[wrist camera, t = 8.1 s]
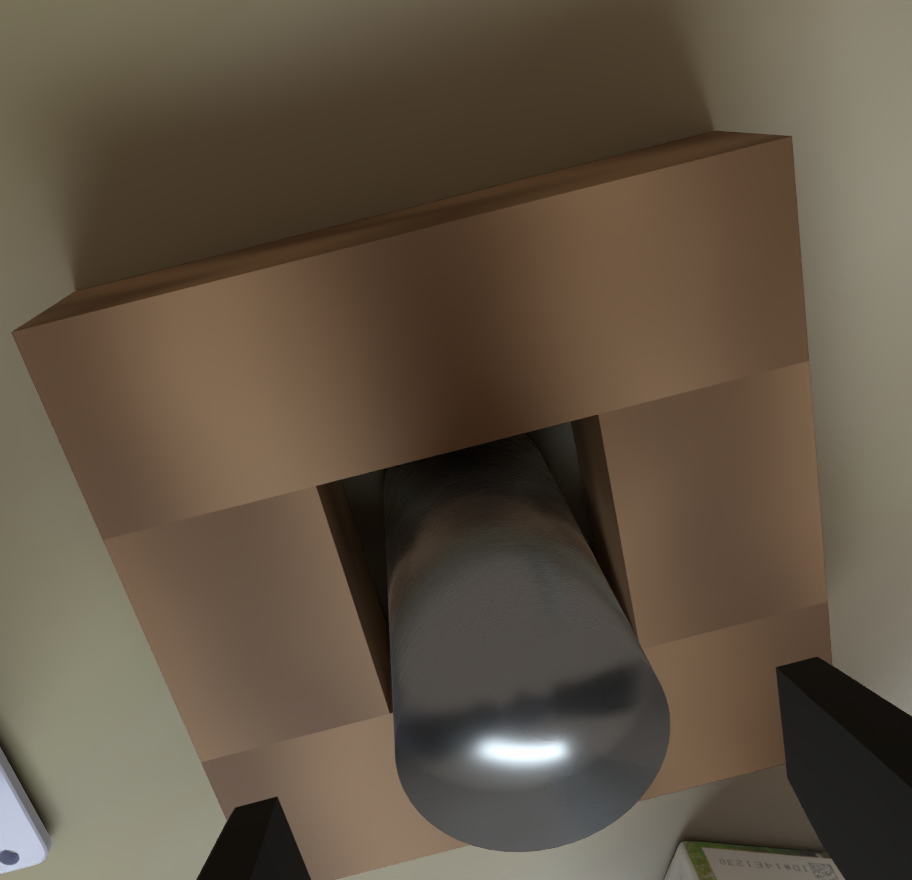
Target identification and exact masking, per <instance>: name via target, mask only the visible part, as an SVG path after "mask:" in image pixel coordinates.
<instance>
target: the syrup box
mask: <svg viewBox="0 0 912 880" xmlns="http://www.w3.org/2000/svg"><path fill="white" fill-rule="evenodd" d="M664 880H845V879H844V877H843V876H842V874H841V873H840V871H839V870H838V868H837V867H836V865H835V864H834V862H833V861H832V859H831V857H830V856H829V854H828V853H827V852H818V851H803V850H789V849H780V848H767V847H758V846H742V845H731V844H722V843H709V842H697V841H682V842H681V843H680V844H679V846H678V848H677V850H676V853H675V855H674V858H673V860H672V862H671V864H670V867H669V869H668V871H667V874H666V876H665V879H664Z"/></svg>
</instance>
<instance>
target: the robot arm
mask: <svg viewBox="0 0 912 880" xmlns="http://www.w3.org/2000/svg"><path fill="white" fill-rule="evenodd" d="M776 676H777V685H778V694H779V704H780V713H781V722H782V732H783V741H784V750H785V759H786V769H787V778H788V780H789V782H790V784H791V786H792V788H793V790H794V792H795V793H796V795H797V797H798V799H799V801H800V803H801V805H802V807H803V809H804V811H805V813H806V815H807V817H808V819H809V821H810V823H811V824H812V826H813V828H814V830H815V832H816V834H817V836H818V838H819V839H820V841H821V843H822V845H823V847H824V848H825V850H826V851H827V853H828V854H829V856H830V857H831V859H832V861H833V862H834V864H835V865H836V867H837V868H838V870H839V871H840V873H841V874H842V876H843V877H844V879H845V880H912V716H910V715H909V714H907V713H905V712H904V711H902V710H901V709H899V708H898V707H896V706H894V705H893V704H891V703H890V702H888V701H887V700H885V699H883V698H882V697H880V696H879V695H877V694H876V693H874V692H872V691H871V690H869V689H868V688H866V687H865V686H863V685H862V684H860V683H859V682H857V681H855V680H854V679H852V678H851V677H849V676H848V675H846V674H845V673H843V672H841V671H840V670H838V669H837V668H835V667H834V666H832V665H830V664H829V663H827V662H826V661H824V660H822V659H821V658H819V657H818V656H817V657H813V658H809V659H806V660H802V661H798V662H794V663H790V664H786V665H782V666H779V667H776ZM51 844H52V842H51V838H50V836H49V834H48V833H47V831H46V829H45V827H44V825H43V823H42V822H41V820H40V818H39V816H38V814H37V813H36V811H35V809H34V807H33V805H32V804H31V802H30V800H29V798H28V796H27V794H26V793H25V791H24V789H23V787H22V785H21V784H20V782H19V780H18V778H17V776H16V774H15V773H14V771H13V769H12V767H11V765H10V764H9V762H8V760H7V758H6V756H5V755H4V753H3V751H2V749H1V747H0V874H2V873H6V872H10V871H14V870H17V869H21V868H25V867H29V866H33V865H36V864H39V863H41V862H43V861H44V859H45V858H46V857H47V855H48V853H49V850H50V847H51ZM7 850H12V851H15V852H16V853H12V852H9V851H7ZM196 880H311V878H310V875H309V873H308V870H307V868H306V865H305V863H304V860H303V858H302V855H301V853H300V851H299V848H298V846H297V843H296V841H295V838H294V836H293V833H292V831H291V828H290V826H289V823H288V821H287V818H286V816H285V814H284V811H283V809H282V806H281V804H280V801H279V799H278V796H277V797H273V798H270V799H266V800H262V801H258V802H254V803H250V804H246V805H243V806H239V807H235V809H234V810H233V812H232V813H231V815H230V817H229V819H228V820H227V822H226V824H225V826H224V828H223V830H222V832H221V834H220V836H219V837H218V839H217V841H216V843H215V845H214V847H213V849H212V851H211V853H210V855H209V857H208V859H207V861H206V862H205V864H204V866H203V868H202V870H201V872H200V874H199V876H198V878H197V879H196Z"/></svg>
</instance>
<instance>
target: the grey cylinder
mask: <svg viewBox="0 0 912 880" xmlns="http://www.w3.org/2000/svg"><path fill="white" fill-rule="evenodd" d="M383 499H384V521H385V544H386V566H387V588H388V611H389V633H390V655H391V678H392V700H393V722H394V745H395V762H396V768H397V773H398V777H399V779H400V782H401V785H402V787H403V790H404V792H405V793H406V795H407V797H408V799H409V800H410V802H411V803H412V805H413V806H414V807H415V808H416V810H417V811H418V812H419V813H420V814H421V815H422V816H423V817H424V818H425V819H426V820H427V821H428V822H429V823H430V824H432V825H433V826H435V827H436V828H437V829H439V830H440V831H442V832H443V833H445V834H447V835H449V836H451V837H453V838H455V839H457V840H459V841H462V842H464V843H467V844H470V845H472V846H476V847H480V848H485V849H489V850H497V851H504V852H528V851H539V850H545V849H550V848H556V847H559V846H563V845H566V844H570V843H573V842H576V841H578V840H581V839H583V838H586V837H588V836H590V835H592V834H594V833H596V832H598V831H600V830H602V829H604V828H605V827H607V826H608V825H610V824H611V823H613V822H614V821H616V820H617V819H619V818H620V817H621V816H622V815H623V814H625V813H626V812H627V811H628V810H630V809H631V808H632V807H633V806H634V805H635V804H636V803H637V801H638V800H639V799H640V798H641V797H642V796H643V795H644V794H645V792H646V791H647V790H648V788H649V787H650V786H651V784H652V783H653V781H654V779H655V778H656V776H657V774H658V772H659V771H660V768H661V766H662V763H663V761H664V759H665V756H666V752H667V748H668V744H669V737H670V728H671V727H670V712H669V707H668V703H667V698H666V696H665V693H664V691H663V688H662V686H661V684H660V682H659V680H658V678H657V676H656V674H655V672H654V670H653V668H652V666H651V664H650V662H649V661H648V659H647V657H646V655H645V653H644V651H643V649H642V647H641V645H640V643H639V641H638V639H637V637H636V636H635V634H634V632H633V630H632V628H631V626H630V624H629V622H628V620H627V618H626V616H625V614H624V613H623V611H622V609H621V607H620V605H619V603H618V601H617V599H616V597H615V595H614V593H613V591H612V589H611V588H610V586H609V584H608V582H607V580H606V578H605V576H604V574H603V572H602V570H601V568H600V566H599V565H598V563H597V561H596V559H595V557H594V555H593V553H592V551H591V549H590V547H589V545H588V543H587V541H586V540H585V538H584V536H583V534H582V532H581V530H580V528H579V526H578V524H577V522H576V520H575V518H574V517H573V515H572V513H571V511H570V509H569V507H568V505H567V503H566V501H565V499H564V497H563V495H562V493H561V492H560V490H559V488H558V486H557V484H556V482H555V480H554V478H553V476H552V474H551V472H550V470H549V469H548V467H547V465H546V463H545V461H544V459H543V457H542V455H541V453H540V452H539V450H538V448H537V446H536V445H535V444H534V442H533V441H532V440H531V439H530V438H529V437H528V436H527V435H526V434H525V433H523V434H519V435H515V436H511V437H507V438H503V439H499V440H495V441H491V442H487V443H483V444H479V445H475V446H471V447H467V448H464V449H460V450H456V451H452V452H448V453H444V454H440V455H436V456H432V457H428V458H424V459H420V460H416V461H412V462H408V463H404V464H400V465H396V466H393V467H389V468H387V471H386V475H385V478H384V486H383Z"/></svg>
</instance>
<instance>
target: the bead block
mask: <svg viewBox="0 0 912 880" xmlns="http://www.w3.org/2000/svg"><path fill="white" fill-rule="evenodd" d="M11 333H12V335H13V337H14V340H15V342H16V344H17V346H18V349H19V351H20V353H21V356H22V358H23V360H24V362H25V365H26V367H27V369H28V371H29V374H30V376H31V378H32V380H33V383H34V385H35V387H36V389H37V392H38V394H39V396H40V399H41V401H42V403H43V405H44V408H45V410H46V412H47V414H48V417H49V419H50V421H51V423H52V426H53V428H54V430H55V433H56V435H57V437H58V439H59V442H60V444H61V446H62V448H63V451H64V453H65V455H66V457H67V460H68V462H69V464H70V466H71V469H72V471H73V473H74V476H75V478H76V480H77V482H78V485H79V487H80V489H81V491H82V494H83V496H84V498H85V500H86V503H87V505H88V507H89V510H90V512H91V514H92V516H93V519H94V521H95V523H96V525H97V528H98V530H99V532H100V534H101V537H102V539H103V541H104V543H105V546H106V548H107V550H108V553H109V555H110V557H111V559H112V562H113V564H114V566H115V568H116V571H117V573H118V575H119V577H120V580H121V582H122V584H123V587H124V589H125V591H126V593H127V596H128V598H129V600H130V602H131V605H132V607H133V609H134V611H135V614H136V616H137V618H138V620H139V623H140V625H141V627H142V630H143V632H144V634H145V636H146V639H147V641H148V643H149V645H150V648H151V650H152V652H153V654H154V657H155V659H156V661H157V664H158V666H159V668H160V670H161V673H162V675H163V677H164V679H165V682H166V684H167V686H168V688H169V691H170V693H171V695H172V698H173V700H174V702H175V704H176V707H177V709H178V711H179V713H180V716H181V718H182V720H183V722H184V725H185V727H186V729H187V731H188V734H189V736H190V738H191V741H192V743H193V745H194V747H195V750H196V752H197V754H198V756H199V759H200V761H201V763H202V765H203V768H204V770H205V772H206V775H207V777H208V779H209V781H210V784H211V786H212V788H213V790H214V793H215V795H216V797H217V799H218V802H219V804H220V806H221V808H222V811H223V813H224V815H225V818H226V820H228V819H229V817H230V815H231V813H232V812H233V810H234V809H235V807H239V806H243V805H246V804H250V803H254V802H258V801H262V800H266V799H270V798H273V797H277V796H278V799H279V801H280V804H281V806H282V809H283V811H284V814H285V816H286V818H287V821H288V823H289V826H290V828H291V831H292V833H293V836H294V838H295V841H296V843H297V846H298V848H299V851H300V853H301V855H302V858H303V860H304V863H305V865H306V868H307V870H308V873H309V875H310V878H311V880H335V879H339V878H343V877H347V876H351V875H355V874H359V873H363V872H366V871H370V870H374V869H378V868H382V867H386V866H390V865H394V864H398V863H401V862H405V861H409V860H413V859H417V858H421V857H425V856H429V855H432V854H436V853H440V852H444V851H448V850H452V849H456V848H460V847H463V846H467V845H470V844H467V843H464V842H462V841H459V840H457V839H455V838H453V837H451V836H449V835H447V834H445V833H443V832H442V831H440V830H439V829H437V828H436V827H435V826H433V825H432V824H430V823H429V822H428V821H427V820H426V819H425V818H424V817H423V816H422V815H421V814H420V813H419V812H418V811H417V810H416V808H415V807H414V806H413V805H412V803H411V802H410V800H409V799H408V797H407V795H406V793H405V792H404V790H403V787H402V785H401V782H400V779H399V777H398V773H397V768H396V762H395V745H394V722H393V700H392V678H391V655H390V633H389V623H386V622H385V619H384V616H383V612H382V609H381V606H380V603H379V600H378V596H377V593H376V590H375V587H374V583H373V580H372V577H371V574H370V571H369V567H368V564H367V561H366V558H365V555H364V551H363V548H362V545H361V542H360V538H359V535H358V532H357V529H356V526H355V522H354V519H353V516H352V513H351V510H350V506H349V503H348V500H347V497H346V494H345V490H344V487H343V484H342V481H341V479H345V478H349V477H353V476H357V475H361V474H365V473H369V472H373V471H377V470H381V469H385V468H389V467H393V466H396V465H400V464H404V463H408V462H412V461H416V460H420V459H424V458H428V457H432V456H436V455H440V454H444V453H448V452H452V451H456V450H460V449H464V448H467V447H471V446H475V445H479V444H483V443H487V442H491V441H495V440H499V439H503V438H507V437H511V436H515V435H519V434H523V433H527V432H531V431H535V430H538V429H542V428H546V427H550V426H554V425H558V424H562V423H566V422H570V421H571V425H572V430H573V435H574V440H575V445H576V451H577V456H578V461H579V466H580V471H581V476H582V482H583V487H584V492H585V497H586V502H587V508H588V513H589V518H590V523H591V528H592V534H593V539H594V544H595V549H596V554H597V559H598V565H599V566H600V568H601V570H602V572H603V574H604V576H605V578H606V580H607V582H608V584H609V586H610V588H611V589H612V591H613V593H614V595H615V597H616V599H617V601H618V603H619V605H620V607H621V609H622V611H623V613H624V614H625V616H626V618H627V620H628V622H629V624H630V626H631V628H632V630H633V632H634V634H635V636H636V637H637V639H638V641H639V643H640V645H641V647H642V649H643V651H644V653H645V655H646V657H647V659H648V661H649V662H650V664H651V666H652V668H653V670H654V672H655V674H656V676H657V678H658V680H659V682H660V684H661V686H662V688H663V691H664V693H665V696H666V698H667V703H668V707H669V712H670V727H671V728H670V737H669V744H668V748H667V752H666V756H665V759H664V761H663V763H662V766H661V768H660V771H659V772H658V774H657V776H656V778H655V779H654V781H653V783H652V784H651V786H650V787H649V788H648V790H647V791H646V792H645V794H644V795H643V796H642V797H641V798H640V799H639V800H638V801H642V800H646V799H650V798H654V797H658V796H661V795H665V794H669V793H673V792H677V791H681V790H685V789H689V788H693V787H696V786H700V785H704V784H708V783H712V782H716V781H720V780H724V779H727V778H731V777H735V776H739V775H743V774H747V773H751V772H755V771H758V770H762V769H766V768H770V767H774V766H778V765H782V764H786V759H785V750H784V741H783V732H782V722H781V713H780V704H779V694H778V685H777V676H776V667H779V666H782V665H786V664H790V663H794V662H798V661H802V660H806V659H809V658H813V657H817V656H818V657H819V658H821V659H822V660H824V661H826V662H827V663H829V664H830V665H832V655H831V642H830V629H829V616H828V603H827V590H826V577H825V563H824V550H823V537H822V524H821V511H820V498H819V485H818V472H817V459H816V446H815V433H814V420H813V407H812V394H811V381H810V368H809V355H808V342H807V329H806V316H805V303H804V289H803V276H802V263H801V250H800V237H799V224H798V211H797V198H796V185H795V172H794V159H793V146H792V136H782V135H767V134H753V133H739V132H724V131H713V132H709V133H705V134H701V135H697V136H693V137H689V138H685V139H681V140H677V141H673V142H670V143H666V144H662V145H658V146H654V147H650V148H646V149H642V150H638V151H634V152H630V153H626V154H622V155H618V156H614V157H610V158H606V159H602V160H598V161H594V162H590V163H586V164H582V165H578V166H574V167H570V168H566V169H562V170H558V171H554V172H550V173H546V174H542V175H538V176H534V177H530V178H526V179H522V180H518V181H514V182H510V183H506V184H502V185H498V186H494V187H490V188H486V189H482V190H478V191H474V192H470V193H466V194H462V195H458V196H454V197H450V198H446V199H442V200H438V201H434V202H430V203H427V204H423V205H419V206H415V207H411V208H407V209H403V210H399V211H395V212H391V213H387V214H383V215H379V216H375V217H371V218H367V219H363V220H359V221H355V222H351V223H347V224H343V225H339V226H335V227H331V228H327V229H323V230H319V231H315V232H311V233H307V234H303V235H299V236H295V237H291V238H287V239H283V240H279V241H275V242H271V243H267V244H263V245H259V246H255V247H251V248H247V249H243V250H239V251H235V252H231V253H227V254H223V255H219V256H215V257H211V258H207V259H203V260H199V261H195V262H191V263H187V264H183V265H180V266H176V267H172V268H168V269H164V270H160V271H156V272H152V273H148V274H144V275H140V276H136V277H132V278H128V279H124V280H120V281H116V282H112V283H108V284H104V285H100V286H96V287H92V288H88V289H84V290H80V291H76V292H73V293H72V294H70V295H69V296H67V297H66V298H64V299H62V300H61V301H59V302H58V303H56V304H55V305H53V306H52V307H50V308H48V309H47V310H45V311H44V312H42V313H41V314H39V315H38V316H36V317H34V318H33V319H31V320H30V321H28V322H27V323H25V324H23V325H22V326H20V327H19V328H17V329H16V330H14V331H13V332H11ZM638 801H637V802H638Z"/></svg>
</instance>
